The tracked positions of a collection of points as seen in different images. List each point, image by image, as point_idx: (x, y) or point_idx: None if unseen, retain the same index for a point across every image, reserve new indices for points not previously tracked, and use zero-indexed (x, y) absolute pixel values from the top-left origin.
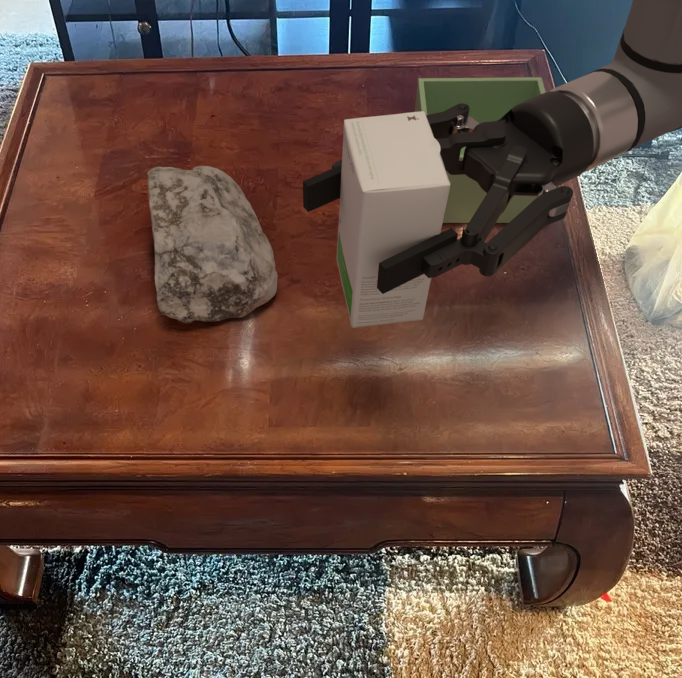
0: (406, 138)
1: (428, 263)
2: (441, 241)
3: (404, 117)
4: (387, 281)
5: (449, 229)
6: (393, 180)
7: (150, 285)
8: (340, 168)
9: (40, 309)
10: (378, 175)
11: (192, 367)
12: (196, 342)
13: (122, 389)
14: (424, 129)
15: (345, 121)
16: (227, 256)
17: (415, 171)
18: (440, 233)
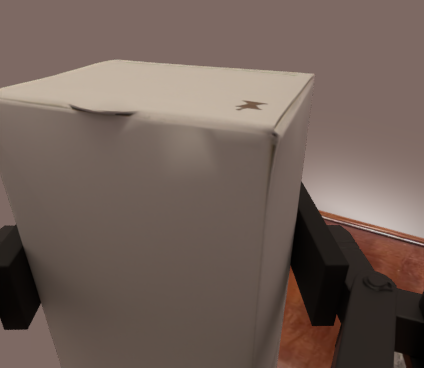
0: (179, 87)
1: (11, 226)
2: (6, 236)
3: (264, 99)
4: None
5: (9, 260)
6: (93, 68)
7: None
8: (309, 210)
9: (389, 266)
10: (124, 64)
11: (291, 334)
12: (321, 349)
13: (288, 285)
14: (183, 107)
15: (306, 73)
16: (400, 357)
17: (76, 79)
18: (22, 244)
